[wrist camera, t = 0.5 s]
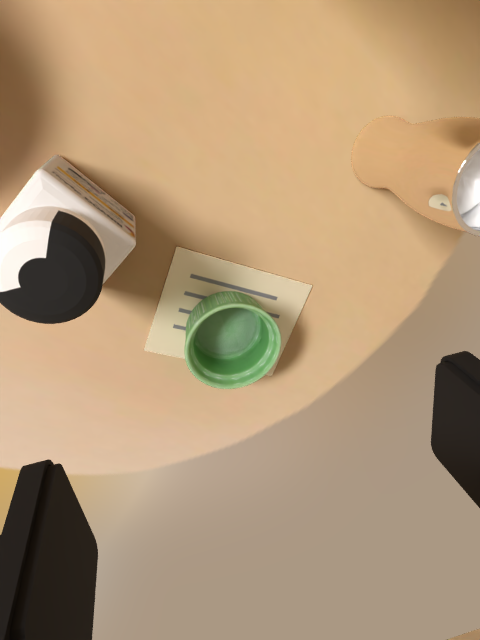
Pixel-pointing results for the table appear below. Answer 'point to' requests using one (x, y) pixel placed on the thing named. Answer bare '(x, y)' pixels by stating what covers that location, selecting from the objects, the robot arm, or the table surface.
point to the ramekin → (230, 340)
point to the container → (60, 244)
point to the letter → (212, 277)
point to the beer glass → (425, 166)
